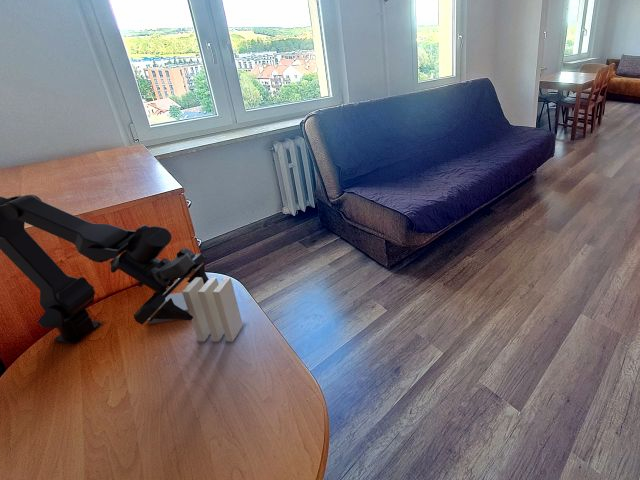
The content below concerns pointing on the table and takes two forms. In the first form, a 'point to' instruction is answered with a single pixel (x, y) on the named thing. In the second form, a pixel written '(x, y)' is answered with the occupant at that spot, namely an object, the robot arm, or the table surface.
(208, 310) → the cream books
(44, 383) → the table surface
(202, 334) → the slim cream book
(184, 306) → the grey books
